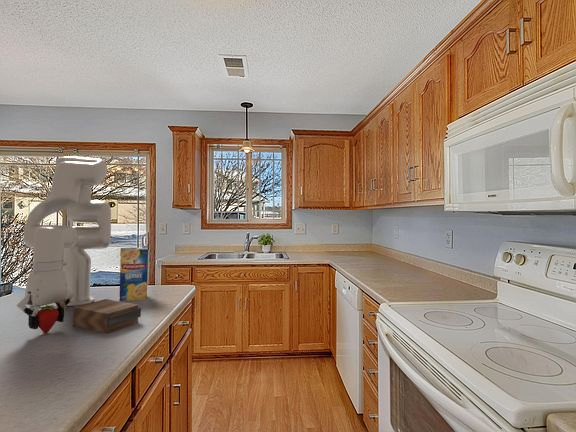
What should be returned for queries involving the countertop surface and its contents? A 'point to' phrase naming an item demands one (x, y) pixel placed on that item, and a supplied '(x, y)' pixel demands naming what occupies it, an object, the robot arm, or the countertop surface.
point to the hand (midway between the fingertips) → (46, 324)
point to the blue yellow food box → (133, 273)
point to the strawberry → (47, 317)
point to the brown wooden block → (105, 315)
